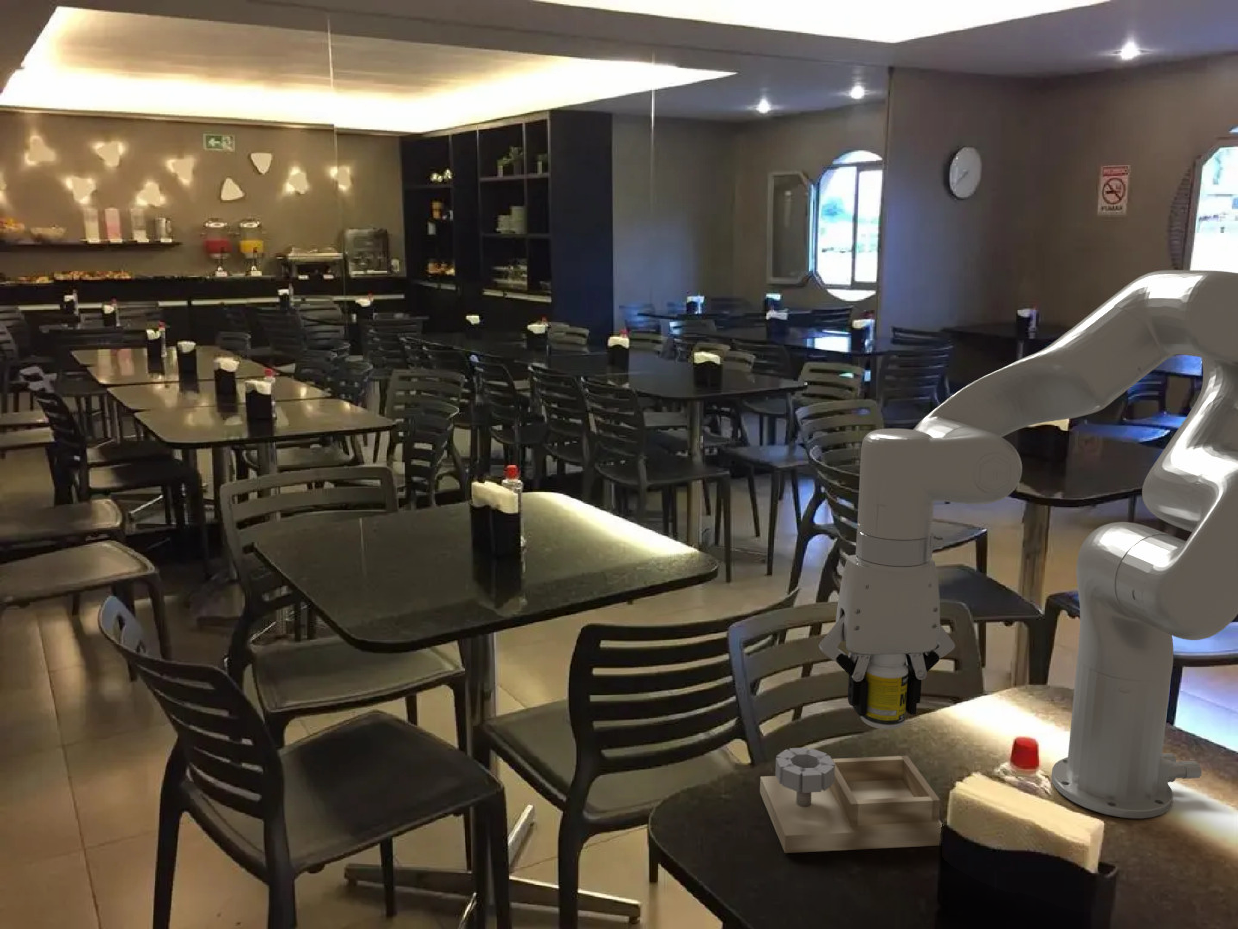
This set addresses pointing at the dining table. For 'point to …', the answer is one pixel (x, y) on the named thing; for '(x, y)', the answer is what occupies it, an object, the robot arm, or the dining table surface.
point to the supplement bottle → (886, 691)
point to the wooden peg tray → (857, 808)
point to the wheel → (805, 770)
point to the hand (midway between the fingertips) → (883, 708)
